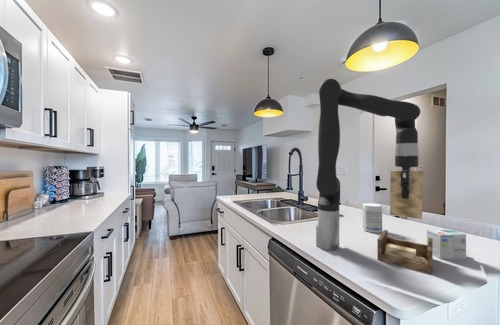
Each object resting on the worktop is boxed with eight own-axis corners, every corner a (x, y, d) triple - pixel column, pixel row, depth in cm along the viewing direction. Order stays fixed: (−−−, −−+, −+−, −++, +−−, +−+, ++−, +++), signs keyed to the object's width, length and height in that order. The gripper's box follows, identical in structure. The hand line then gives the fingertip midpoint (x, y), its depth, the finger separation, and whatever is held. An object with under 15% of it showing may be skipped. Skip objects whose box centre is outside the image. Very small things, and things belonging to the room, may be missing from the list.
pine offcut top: (385, 252, 81) (385, 246, 81) (387, 249, 84) (387, 243, 84) (415, 259, 75) (415, 252, 75) (416, 256, 78) (416, 249, 78)
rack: (377, 262, 82) (377, 239, 82) (384, 250, 93) (384, 229, 93) (432, 277, 71) (432, 250, 71) (432, 261, 82) (432, 238, 82)
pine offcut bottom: (384, 259, 81) (384, 252, 81) (385, 256, 84) (385, 249, 84) (424, 270, 74) (424, 261, 74) (424, 266, 76) (424, 258, 76)
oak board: (390, 214, 86) (390, 170, 86) (391, 212, 90) (392, 170, 89) (421, 219, 80) (422, 171, 79) (422, 216, 83) (422, 171, 83)
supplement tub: (386, 232, 116) (386, 205, 116) (372, 234, 113) (371, 206, 113) (372, 227, 125) (372, 202, 125) (358, 228, 123) (358, 203, 123)
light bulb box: (450, 254, 89) (450, 228, 89) (467, 261, 82) (467, 234, 82) (425, 254, 88) (425, 228, 88) (440, 262, 82) (440, 234, 82)
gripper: (397, 155, 92) (397, 194, 92) (392, 154, 82) (392, 198, 82) (419, 155, 87) (418, 196, 87) (417, 154, 77) (416, 201, 77)
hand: (405, 197), depth 85 cm, fingers closed on oak board, 4 cm apart
